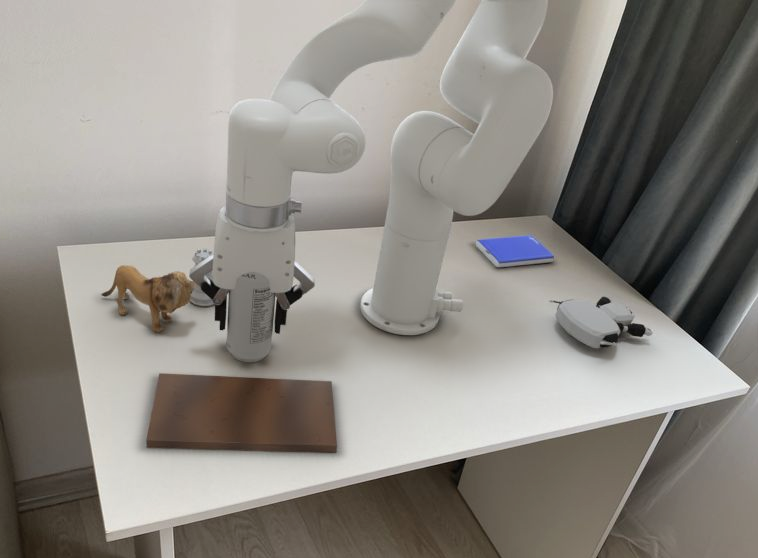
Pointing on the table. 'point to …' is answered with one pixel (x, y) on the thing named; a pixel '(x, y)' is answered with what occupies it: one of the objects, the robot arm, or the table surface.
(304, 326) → the table surface
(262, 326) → the energy drink can
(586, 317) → the robot toy
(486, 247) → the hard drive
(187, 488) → the table surface
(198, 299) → the rook chess piece
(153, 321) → the lion figurine
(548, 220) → the table surface
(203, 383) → the serving board
